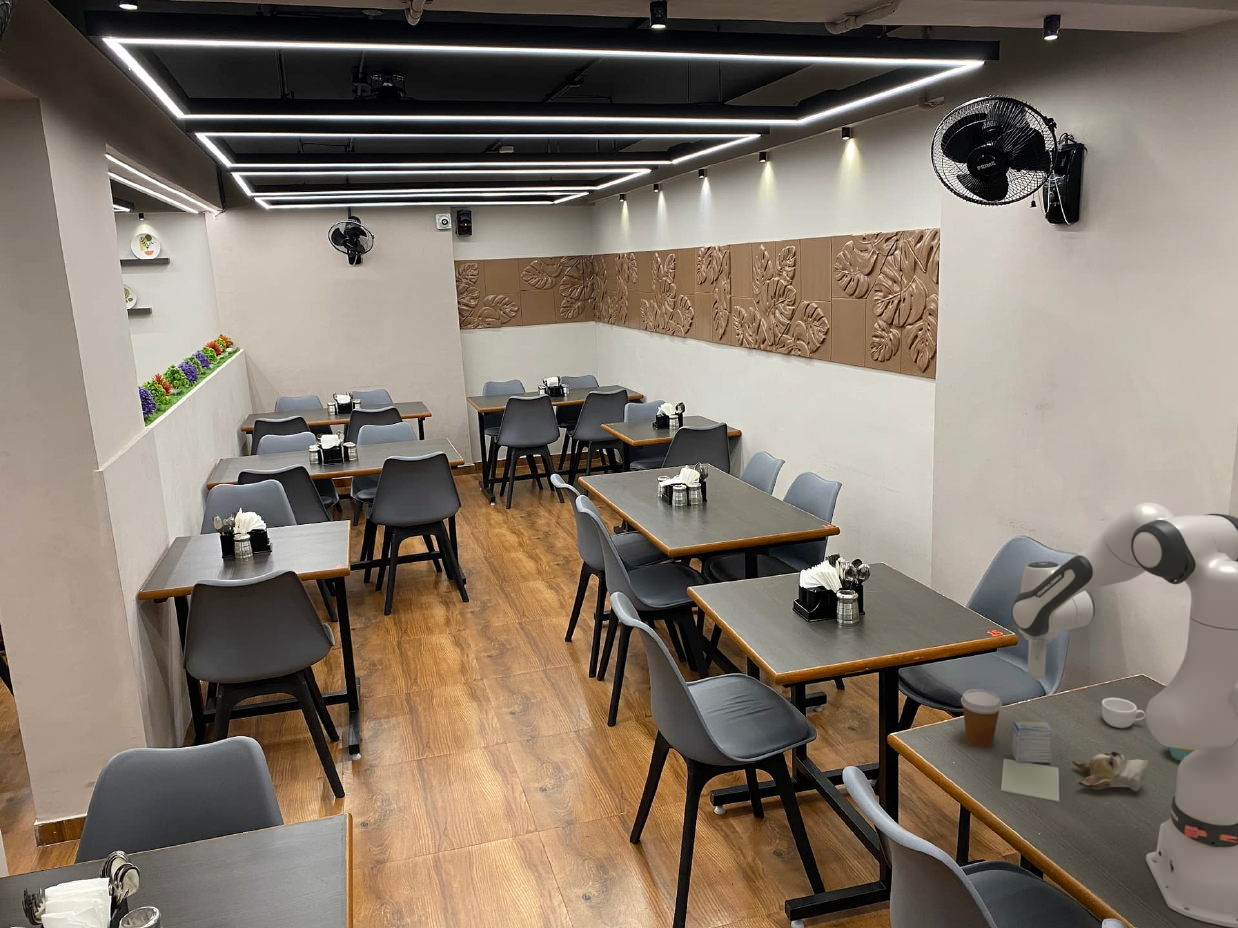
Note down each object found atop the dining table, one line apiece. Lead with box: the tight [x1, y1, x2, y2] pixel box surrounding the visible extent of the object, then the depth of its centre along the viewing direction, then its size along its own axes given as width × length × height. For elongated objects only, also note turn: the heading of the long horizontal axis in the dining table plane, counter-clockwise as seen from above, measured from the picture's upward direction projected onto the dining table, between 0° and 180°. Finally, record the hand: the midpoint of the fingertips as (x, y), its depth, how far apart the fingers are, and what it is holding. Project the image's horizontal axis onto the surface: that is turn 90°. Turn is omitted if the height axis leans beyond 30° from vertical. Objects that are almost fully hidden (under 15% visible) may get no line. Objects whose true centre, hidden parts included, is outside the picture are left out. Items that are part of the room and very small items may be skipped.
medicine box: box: [1011, 721, 1054, 764], centre depth 216 cm, size 8×4×9 cm, turn 84°
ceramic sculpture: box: [1071, 751, 1149, 792], centre depth 205 cm, size 11×9×15 cm
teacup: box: [1101, 697, 1146, 729], centre depth 230 cm, size 10×8×5 cm
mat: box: [1000, 758, 1060, 803], centre depth 209 cm, size 14×12×1 cm
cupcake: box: [1168, 747, 1195, 762], centre depth 214 cm, size 9×8×12 cm
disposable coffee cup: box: [960, 688, 1003, 748], centre depth 225 cm, size 10×10×12 cm
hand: (1035, 677), depth 220 cm, fingers closed
